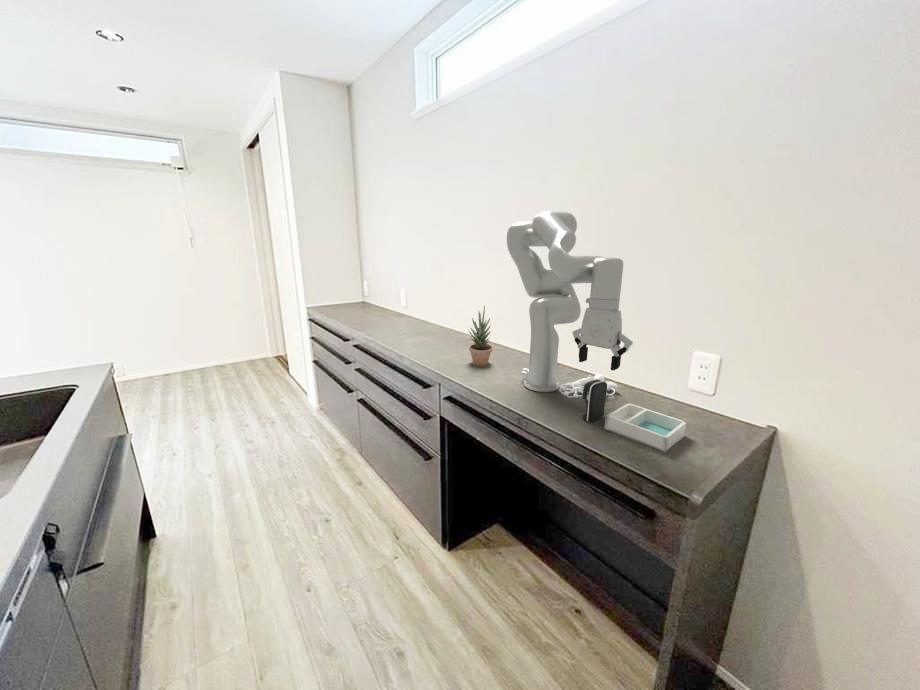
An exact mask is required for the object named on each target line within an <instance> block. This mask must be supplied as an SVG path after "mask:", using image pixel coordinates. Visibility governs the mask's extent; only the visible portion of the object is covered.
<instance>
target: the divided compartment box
mask: <svg viewBox="0 0 920 690" xmlns="http://www.w3.org/2000/svg"><path fill="white" fill-rule="evenodd" d="M604 420H605V421H604V426H603V427H604V428H603V429H604V430H606V431H609V432H612V433H614V434H616V435H619V436H621V437H623V438H626V439H629V440H631V441H634V442H636V443H639V444H641V445H643V446H647V447H649V448H651V449H654V450H656V451H659V452H661V453H666V452H667V451H668V450H669V449H671V448H672V447H673V446H674V445H676V444H677V443H678V442H679V441H680V440H682V439H683V438H684V437H685V436H686V432H687V431H686V430H687V428H688V427H687V426H688V421H685V420H682V419H679V418H676V417H673V416H669V415H667V414H664V413H660V412H657V411H656V410H655V411H654V410H652V409H648V408H645V407H642V406H639V405H636V404H633V403H630V402H628V403H626V404H624V405H622V406H620V407H619V408H617V409H616V410H613V411H612V412H610V413H608V414H606V415H605V419H604Z"/></svg>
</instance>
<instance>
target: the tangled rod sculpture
mask: <svg viewBox="0 0 920 690" xmlns="http://www.w3.org/2000/svg"><path fill="white" fill-rule="evenodd" d="M593 380H601V381H605V376H604V375H602V374H599V373H598V374H595V375H594V376H592V375H591V374H589V375H588V376H587V377H585V378H584V377H583V378H580V379H578V380H576V381H572V382H567V383H564V384H560V388H559V389H558V392H560V393H561V394H563V396H564V397H567V398H570V399H572V398H574V399H578V398H579V397H583V389H584V385H585V384H586V383H587V382H590V381H593ZM605 382H606V383H607V392H611V391H613V392H612V393H607V394H606V396H613V395H615V393H616V390H618V389H619V386H618V385H617V384H616V383H615V382H612V381H605ZM578 393H581V394H580V395H579V394H578ZM570 394H573V396H569V395H570Z"/></svg>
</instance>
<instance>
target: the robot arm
mask: <svg viewBox="0 0 920 690" xmlns="http://www.w3.org/2000/svg"><path fill="white" fill-rule="evenodd" d="M577 229H578V223H577V219H576V217H575V216H574V214H572V213H571V212H568V211H550V210H549V211H546V210H545V211H542V212H540V213H537V214H536V215H535V216H534V217H533V219H532V221H518V222H515V223H513V224H511V225H510V227H508V230H507V232H506V244H507V245H506V247H507V251H508V252H509V255H510V257H511V259H512V261H513V262H514V264H515V265H516V267H517V270H518V273H519V276H520V278H521V281H522V284H523V287H524V290H525V292H526V294H527V295H528V296H529V297H530V298H535V299H534V300H533V301H531V302H530V304H529V308H528V310H529V311H528V313H529V321H530V322H529V323H530V345H529V346H530V347H529V362H528V368H525V367H524V368H522V371H521V372H520V375H522V376H525V379H524V380H523V386H524V387H525V388H527V389H528V390H531V391H535V392H539V393H550V392H555V391H559V389H560V386H561V383H560V382H559V381H558V380H557V372H558V371H557V368H558V359H559V357H558V356H559V355H558V354H559V346H560V345H559V343H560V338H559V337H560V336H559V334H558V332H557V330H556V329H555V326H557V325H565V324H566V325H567V324H572V323H574V322H577V321H578V320H579V319H580V316H581V312H582V311H581V304H580V301H579V298H578V296H577V293H576V290H575V288H574V286H573V285H574V284H575V285H576V284H590V293H589V298H586V299H585V303H586V304H588V307H586V308H585V311H584V314H583V318H582V323H581V327H580V328H578V329H575V330H572V336H573V338H574V342H575V344H576V345H577V348H578V362H579V363H582V362H586V361H588V353H589V348H588V346H591V347H592V346H593V347H598V348H600V349H601V348H602V349H607V350H611V353H612V354H613V355H612V356H611V360H610V361H611V363H610V370H611V371H616V370H618V369H619V368H620V367H621V360H622V356H623V355H624V354H625V353H627V352H628V351H629V349H630V348H631V347H632V345H633V343H634V341H632V340H631V339H630V338H629V337H628V336H626V335H624V334H623V333H622V332H623V324H622V323H623V319H622V311H621V310H620V299H621V291H622V280H623V274H624V273H623V272H624V261H623V259H621V258H619V257H605V256H601V255H571V254H570V252H571V251H572V250H573V249H574V247H575V245H576V243H577V237H576V236H577V235H576V234H575V233H576V232H577ZM530 247H547V249H548V257H547V258H548V263H549V267H550V269H546V268H545V267H544V265H543V262H542V259H541V258H540V256H539V255H538V254H537V253H536V252H535V251H534V250H533V249H532V248H530ZM621 342H622V343H623V344H624V345H623V347H621Z"/></svg>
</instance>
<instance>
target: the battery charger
mask: <svg viewBox="0 0 920 690" xmlns="http://www.w3.org/2000/svg"><path fill="white" fill-rule="evenodd" d="M606 382H607V381H601V380H593V379H592V380H591V381H588V382H587V383H586V384H585V385H584V388H583V390H582V391H583V394H582V395H583V396H582V400H584V402H585V413H584V415H582V419H583V420H584V421H586V422H589V423H590V422H594V421H597V420H599V419H601V418H603V417H604V414H605V407H606V400H607V395H606V394H608V391H607V383H606Z"/></svg>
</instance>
